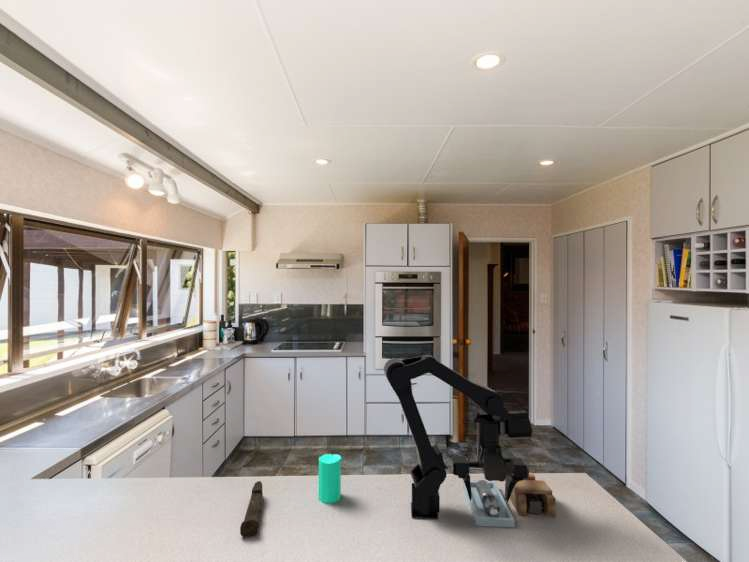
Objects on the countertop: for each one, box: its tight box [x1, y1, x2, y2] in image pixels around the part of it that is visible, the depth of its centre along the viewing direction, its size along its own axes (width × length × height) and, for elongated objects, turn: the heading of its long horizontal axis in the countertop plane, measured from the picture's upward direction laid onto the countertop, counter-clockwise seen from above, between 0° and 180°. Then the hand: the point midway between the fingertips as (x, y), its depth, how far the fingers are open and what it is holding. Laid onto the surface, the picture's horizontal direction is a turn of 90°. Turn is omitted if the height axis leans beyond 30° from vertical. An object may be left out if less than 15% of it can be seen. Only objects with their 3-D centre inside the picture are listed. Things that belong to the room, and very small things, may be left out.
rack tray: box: [462, 480, 516, 528], centre depth 102 cm, size 9×19×2 cm, turn 177°
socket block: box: [509, 479, 556, 518], centre depth 102 cm, size 9×9×5 cm
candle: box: [317, 453, 342, 504], centre depth 105 cm, size 6×6×12 cm
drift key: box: [523, 473, 542, 514], centre depth 103 cm, size 5×9×6 cm, turn 177°
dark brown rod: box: [239, 480, 264, 538], centre depth 97 cm, size 19×4×5 cm, turn 7°
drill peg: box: [476, 479, 500, 517], centre depth 100 cm, size 4×13×4 cm, turn 177°
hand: (488, 500), depth 100 cm, fingers open, 9 cm apart
